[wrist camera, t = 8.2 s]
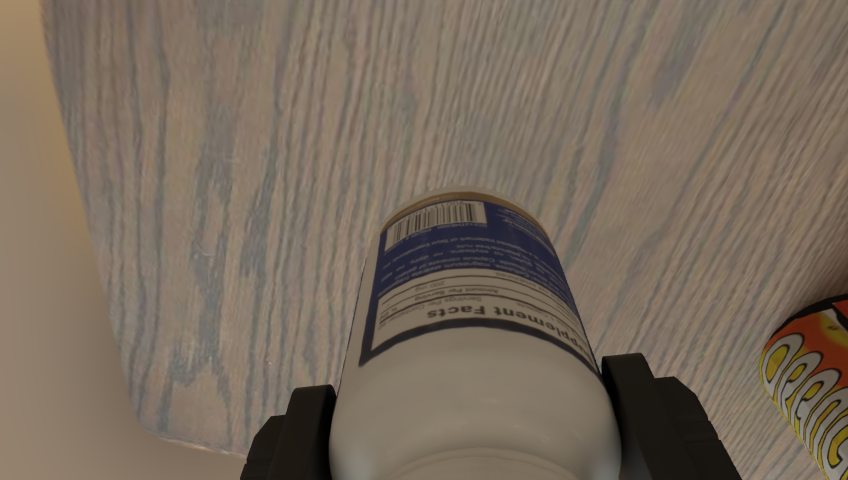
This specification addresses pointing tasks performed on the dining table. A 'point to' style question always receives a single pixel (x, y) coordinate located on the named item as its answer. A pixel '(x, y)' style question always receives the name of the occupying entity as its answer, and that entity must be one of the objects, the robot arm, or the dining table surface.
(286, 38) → the dining table surface
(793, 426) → the beverage can
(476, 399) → the pill bottle
